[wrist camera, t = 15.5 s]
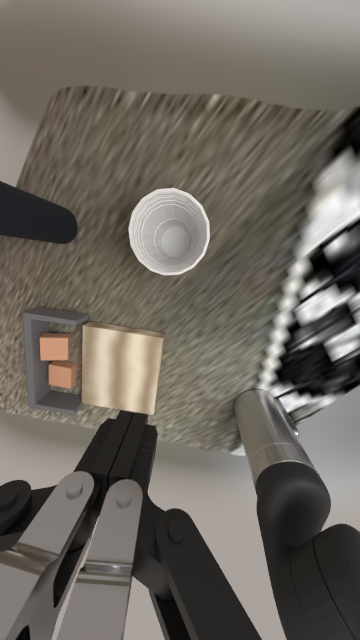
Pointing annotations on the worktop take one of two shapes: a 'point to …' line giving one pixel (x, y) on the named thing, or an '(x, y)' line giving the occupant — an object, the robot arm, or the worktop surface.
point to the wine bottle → (34, 217)
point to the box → (39, 369)
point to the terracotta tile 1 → (54, 346)
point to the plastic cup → (169, 231)
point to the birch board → (121, 367)
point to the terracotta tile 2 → (62, 374)
